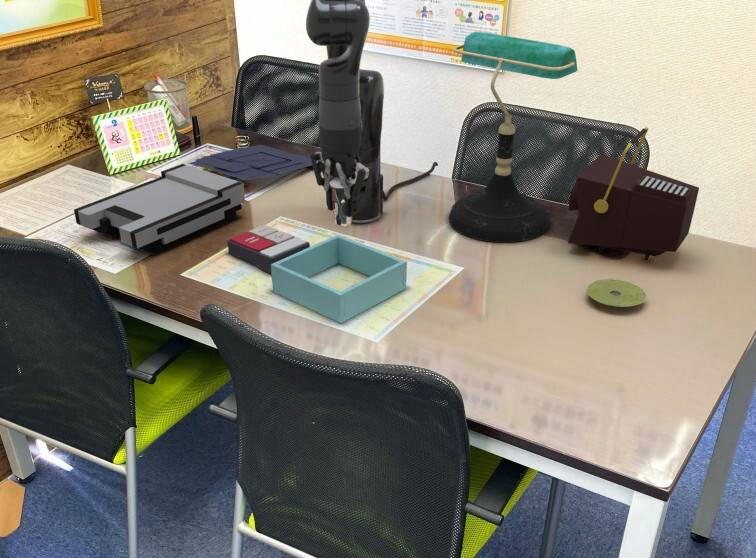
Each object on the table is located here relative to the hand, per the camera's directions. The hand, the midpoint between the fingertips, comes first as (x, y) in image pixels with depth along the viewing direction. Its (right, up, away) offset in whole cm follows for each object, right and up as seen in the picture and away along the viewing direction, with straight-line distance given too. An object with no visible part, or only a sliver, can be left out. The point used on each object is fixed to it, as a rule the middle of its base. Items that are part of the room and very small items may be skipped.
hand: (341, 212), depth 163 cm
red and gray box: (-16, -5, +23) cm, 29 cm away
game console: (-41, +4, +36) cm, 55 cm away
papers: (-24, +25, +66) cm, 74 cm away
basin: (-1, -13, +10) cm, 17 cm away
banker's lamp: (+36, +6, +37) cm, 52 cm away
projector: (+61, -3, +25) cm, 66 cm away
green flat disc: (+53, -16, +6) cm, 56 cm away
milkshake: (0, -2, +2) cm, 3 cm away
